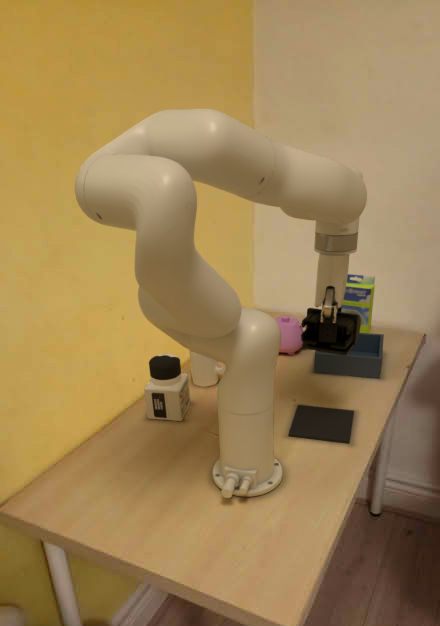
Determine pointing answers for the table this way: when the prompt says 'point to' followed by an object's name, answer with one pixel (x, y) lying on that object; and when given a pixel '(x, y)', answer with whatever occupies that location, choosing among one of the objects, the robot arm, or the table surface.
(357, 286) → the box
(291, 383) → the table surface
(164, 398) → the container
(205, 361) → the mug
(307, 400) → the table surface
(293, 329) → the teapot
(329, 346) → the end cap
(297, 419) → the mat
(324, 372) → the bin
